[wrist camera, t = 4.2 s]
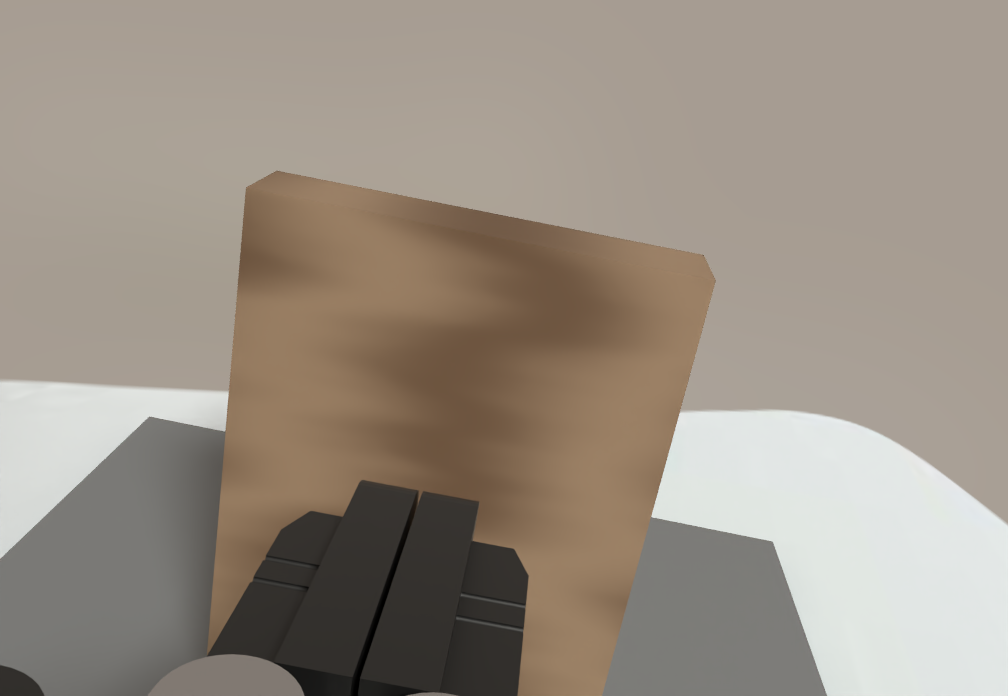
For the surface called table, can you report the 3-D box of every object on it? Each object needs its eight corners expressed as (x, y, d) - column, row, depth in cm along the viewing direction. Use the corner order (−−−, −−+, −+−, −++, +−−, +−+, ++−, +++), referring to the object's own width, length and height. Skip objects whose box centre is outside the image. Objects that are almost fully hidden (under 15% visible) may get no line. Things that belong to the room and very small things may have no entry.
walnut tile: (201, 723, 22) (245, 187, 18) (233, 662, 24) (281, 168, 20) (573, 799, 22) (715, 280, 18) (574, 732, 24) (701, 251, 20)
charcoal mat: (-165, 739, 21) (-167, 717, 21) (148, 430, 36) (149, 416, 36) (903, 958, 20) (912, 938, 20) (767, 555, 35) (772, 541, 35)
